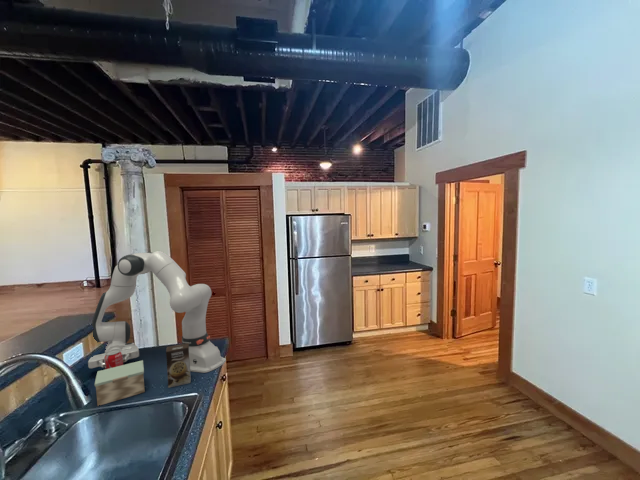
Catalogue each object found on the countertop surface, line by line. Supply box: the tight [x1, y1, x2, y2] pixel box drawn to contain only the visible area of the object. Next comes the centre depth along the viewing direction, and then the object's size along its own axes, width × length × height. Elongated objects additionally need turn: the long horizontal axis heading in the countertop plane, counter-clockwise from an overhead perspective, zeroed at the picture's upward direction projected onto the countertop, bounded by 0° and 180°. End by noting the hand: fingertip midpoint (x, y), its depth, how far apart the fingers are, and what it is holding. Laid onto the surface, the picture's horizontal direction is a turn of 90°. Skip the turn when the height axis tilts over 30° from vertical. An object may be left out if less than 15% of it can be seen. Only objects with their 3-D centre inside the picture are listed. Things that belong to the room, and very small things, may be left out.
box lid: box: [94, 359, 145, 388], centre depth 124 cm, size 17×14×1 cm
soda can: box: [104, 350, 124, 370], centre depth 138 cm, size 7×7×12 cm
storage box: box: [95, 374, 146, 407], centre depth 125 cm, size 16×12×8 cm
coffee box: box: [165, 343, 192, 389], centre depth 131 cm, size 9×6×16 cm
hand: (114, 363), depth 137 cm, fingers closed on soda can, 7 cm apart
